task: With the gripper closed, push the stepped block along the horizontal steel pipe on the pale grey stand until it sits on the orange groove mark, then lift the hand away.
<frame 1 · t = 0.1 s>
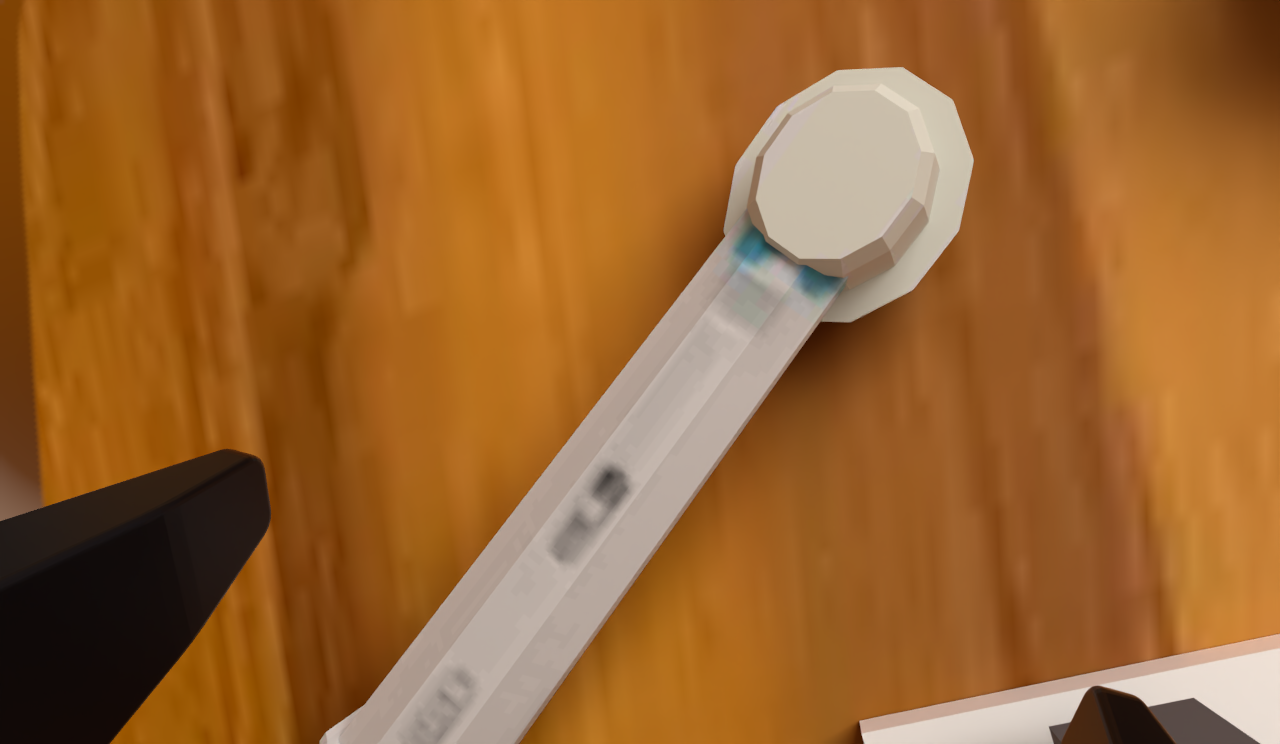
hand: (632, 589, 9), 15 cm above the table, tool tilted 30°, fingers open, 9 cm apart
light grey long piece: (631, 499, 25), on the table
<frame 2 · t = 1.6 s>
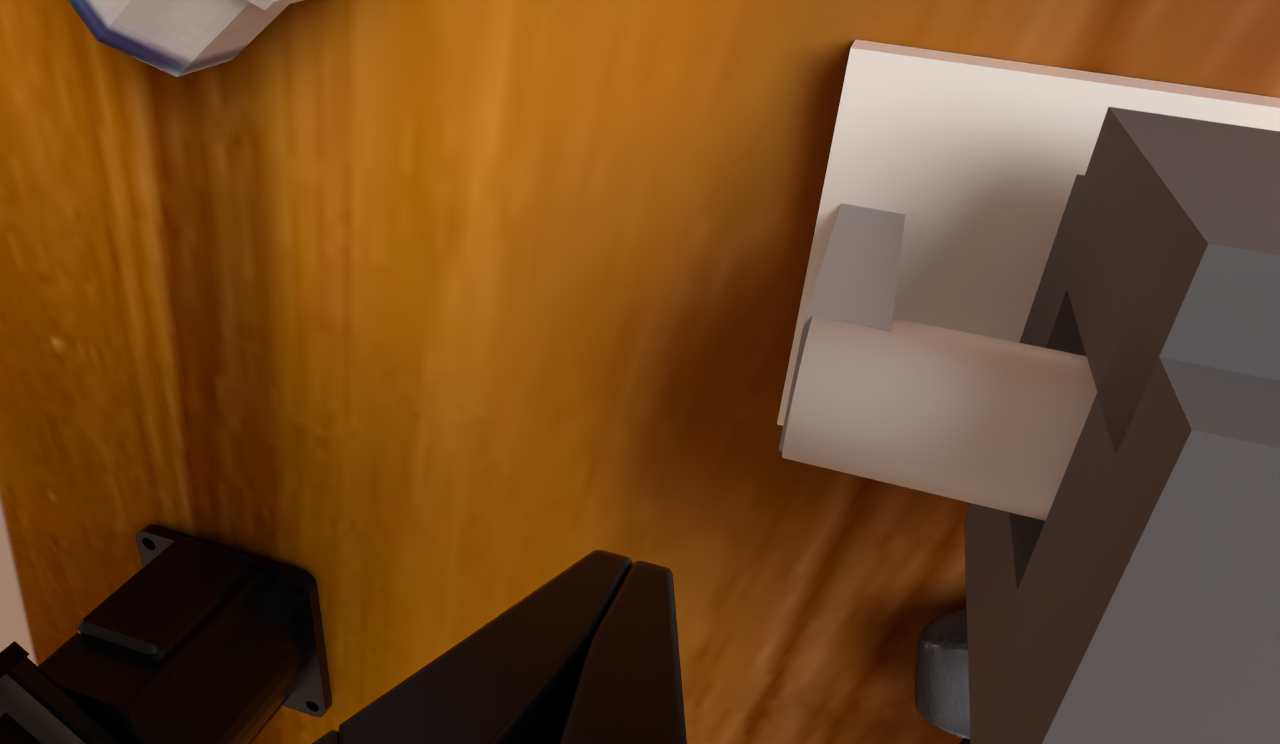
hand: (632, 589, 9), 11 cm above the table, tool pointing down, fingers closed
stepped block: (1161, 474, 12), point 6 cm above the table, slide at 0.0 cm
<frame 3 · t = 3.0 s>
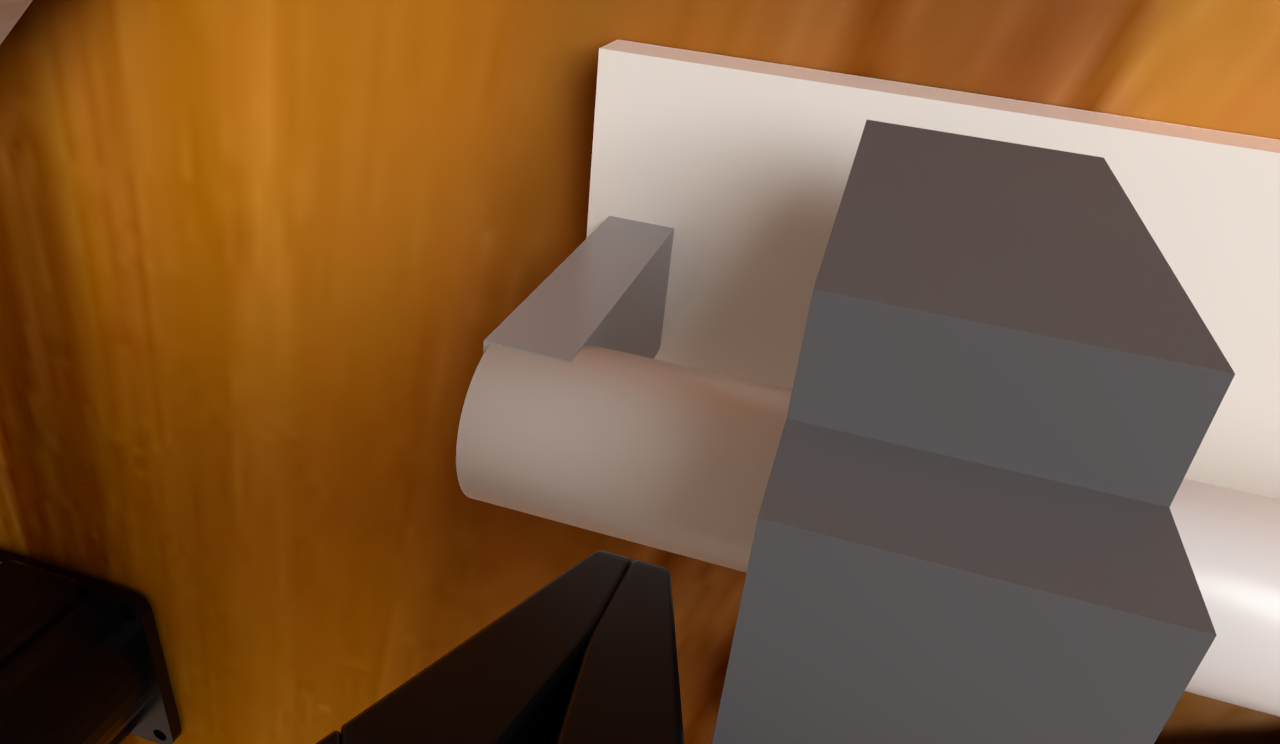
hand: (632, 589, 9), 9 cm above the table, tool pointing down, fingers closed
pipe stand: (1119, 359, 15), on the table
stepped block: (899, 532, 11), point 6 cm above the table, slide at 0.5 cm, touching gripper
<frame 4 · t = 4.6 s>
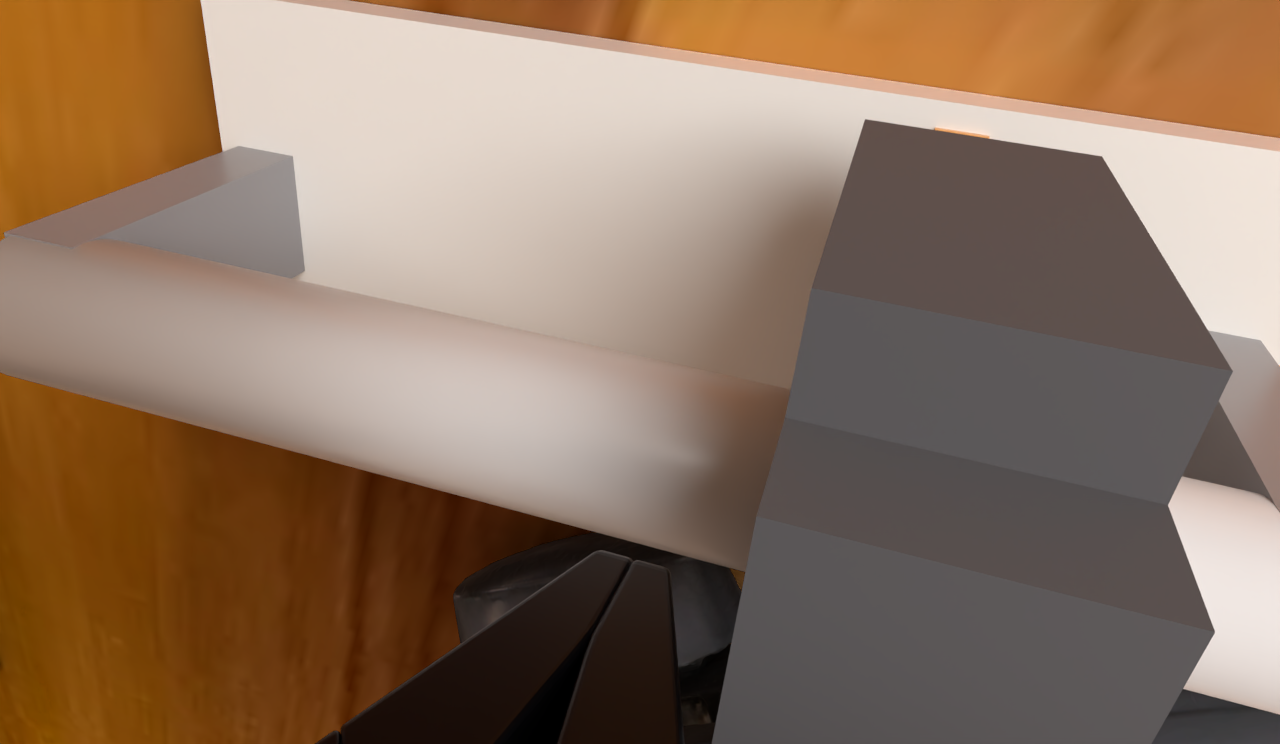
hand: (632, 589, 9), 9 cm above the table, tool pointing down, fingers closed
pipe stand: (694, 273, 17), on the table
stepped block: (899, 531, 11), point 6 cm above the table, slide at 8.1 cm, touching gripper
can opener: (851, 616, 20), on the table
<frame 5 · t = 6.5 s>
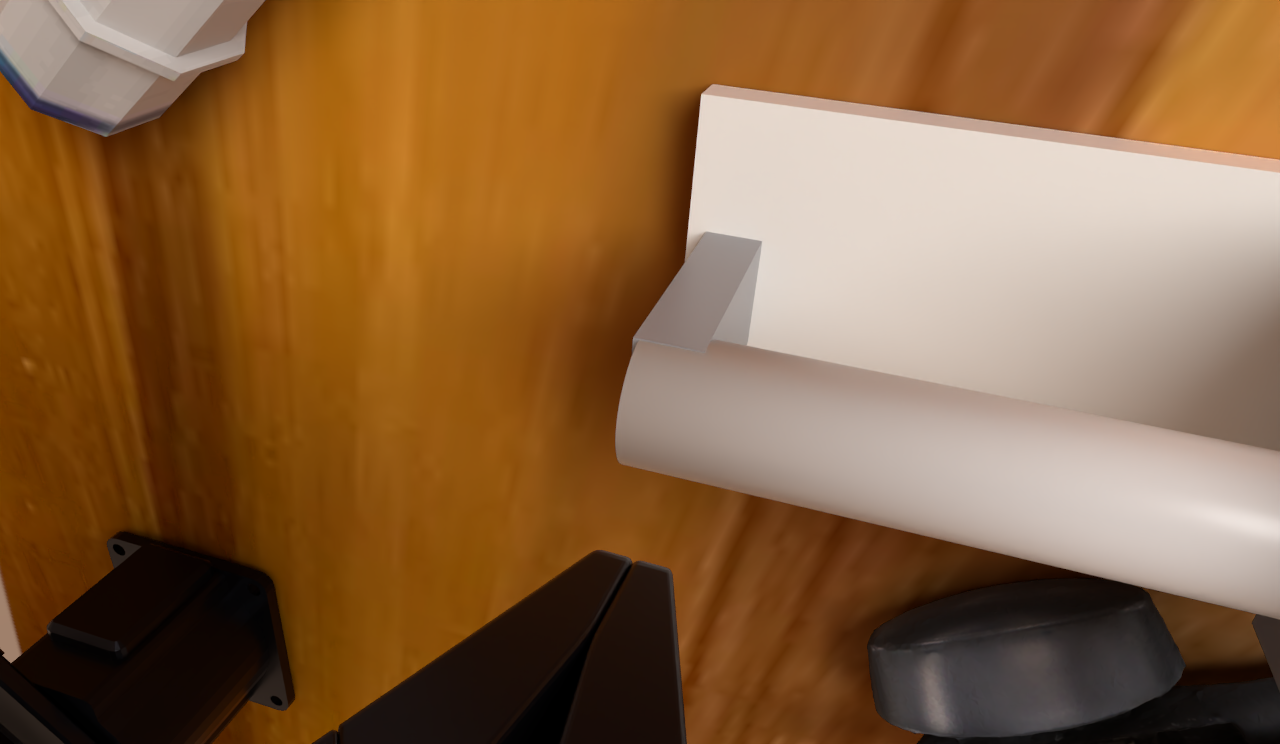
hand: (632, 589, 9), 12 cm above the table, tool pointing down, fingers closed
pipe stand: (1142, 344, 18), on the table
can opener: (1262, 654, 21), on the table
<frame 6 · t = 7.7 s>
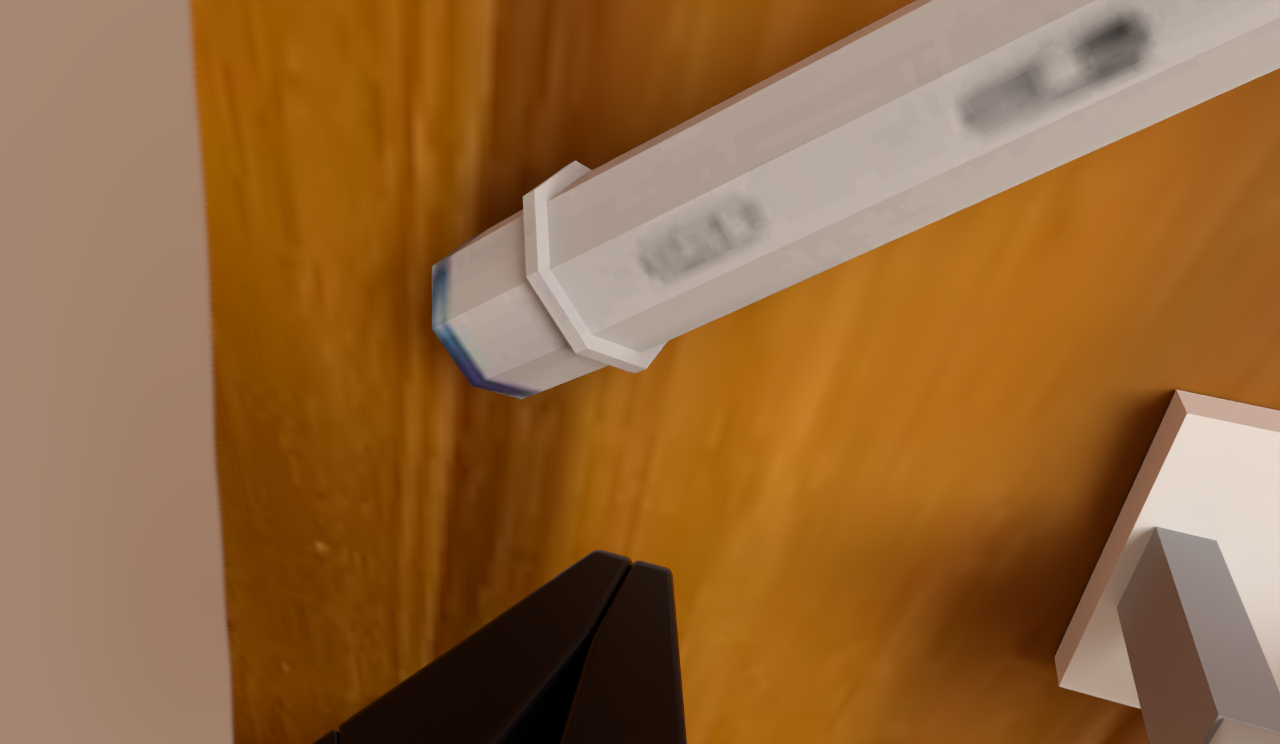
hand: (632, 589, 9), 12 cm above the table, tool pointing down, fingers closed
light grey long piece: (1020, 27, 17), on the table
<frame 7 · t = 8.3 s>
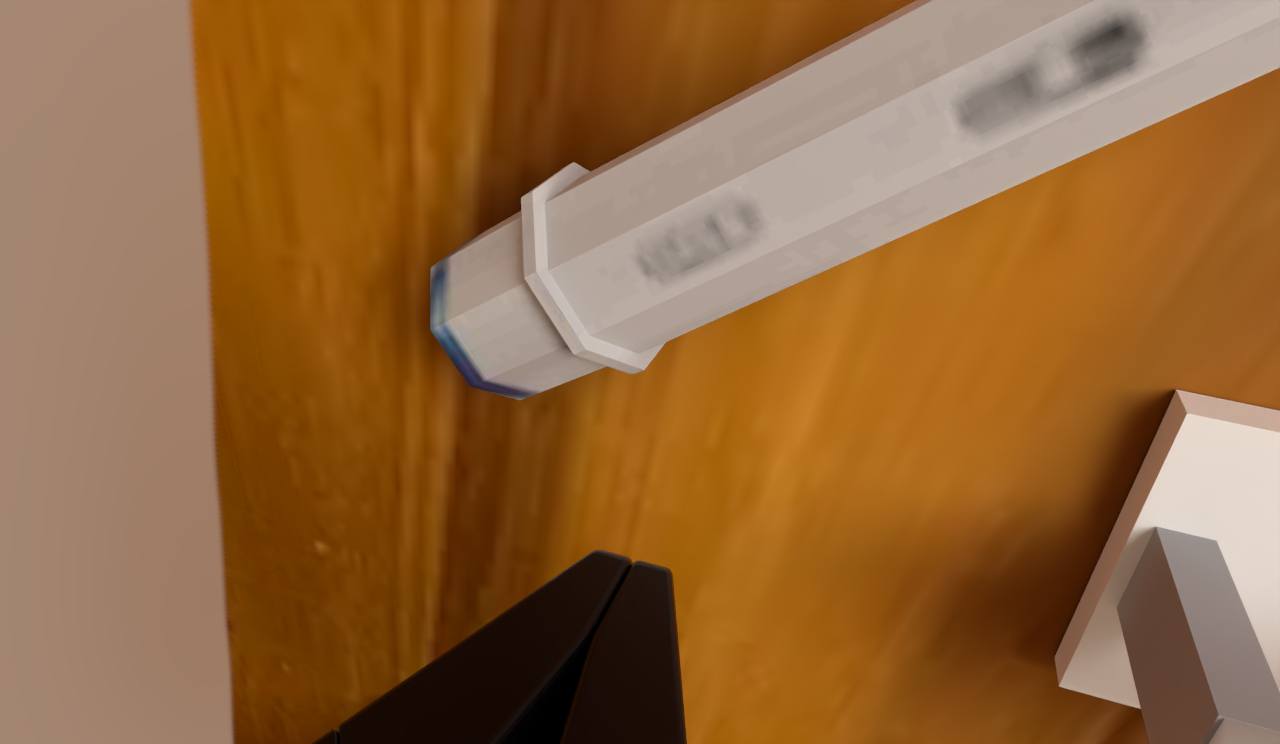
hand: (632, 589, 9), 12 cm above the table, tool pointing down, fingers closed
light grey long piece: (1017, 29, 17), on the table
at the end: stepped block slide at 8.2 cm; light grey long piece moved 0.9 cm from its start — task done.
